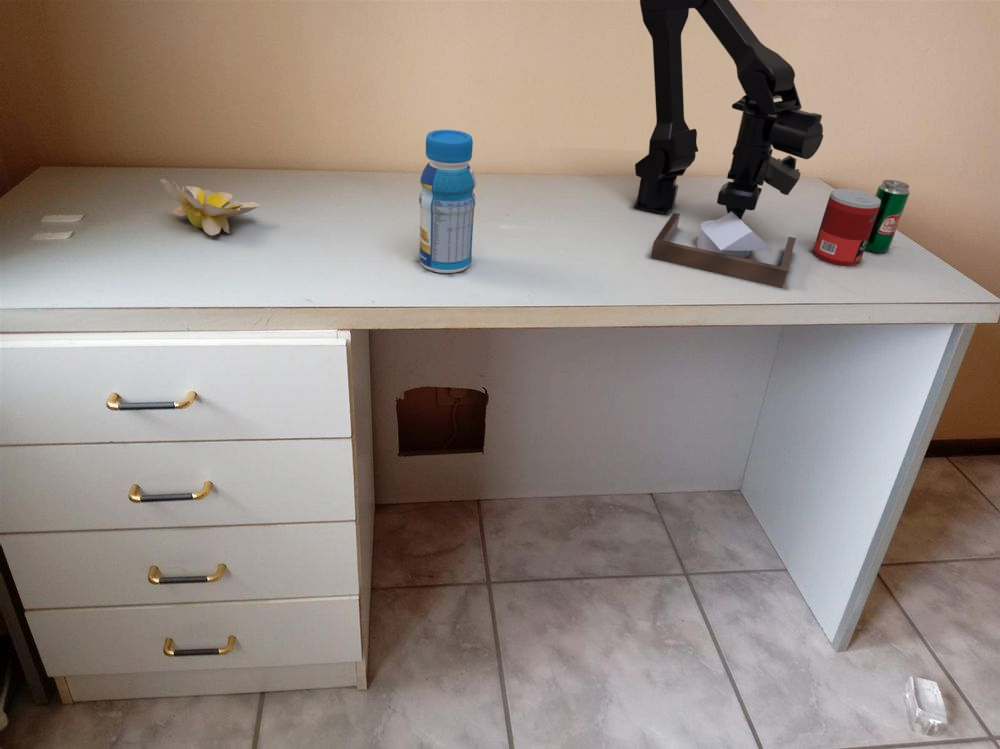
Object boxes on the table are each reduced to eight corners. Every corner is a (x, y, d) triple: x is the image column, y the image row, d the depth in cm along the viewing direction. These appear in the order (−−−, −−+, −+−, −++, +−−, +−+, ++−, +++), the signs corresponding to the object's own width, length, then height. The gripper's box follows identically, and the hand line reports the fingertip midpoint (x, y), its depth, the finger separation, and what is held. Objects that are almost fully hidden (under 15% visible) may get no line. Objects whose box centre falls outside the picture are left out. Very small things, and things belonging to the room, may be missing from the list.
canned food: (864, 269, 132) (886, 207, 126) (815, 262, 133) (834, 200, 127) (855, 251, 138) (876, 192, 132) (809, 245, 139) (827, 185, 133)
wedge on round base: (767, 269, 129) (736, 238, 140) (778, 231, 125) (745, 202, 136) (716, 269, 127) (689, 237, 138) (725, 230, 124) (697, 201, 135)
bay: (650, 258, 129) (653, 241, 128) (670, 228, 141) (673, 212, 140) (782, 287, 123) (787, 270, 122) (791, 253, 135) (796, 237, 134)
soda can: (874, 255, 137) (898, 190, 131) (852, 244, 141) (874, 180, 134) (894, 252, 139) (918, 187, 133) (871, 241, 143) (893, 177, 136)
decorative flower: (275, 220, 127) (254, 163, 121) (216, 252, 122) (191, 194, 115) (229, 200, 136) (207, 146, 130) (171, 229, 130) (145, 174, 124)
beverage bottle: (451, 280, 117) (456, 148, 106) (407, 264, 121) (407, 135, 110) (482, 262, 124) (490, 135, 113) (439, 247, 127) (442, 123, 116)
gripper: (799, 167, 120) (774, 258, 129) (808, 134, 135) (785, 218, 143) (726, 154, 123) (707, 244, 132) (743, 124, 138) (724, 207, 147)
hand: (733, 228), depth 139 cm, fingers closed
